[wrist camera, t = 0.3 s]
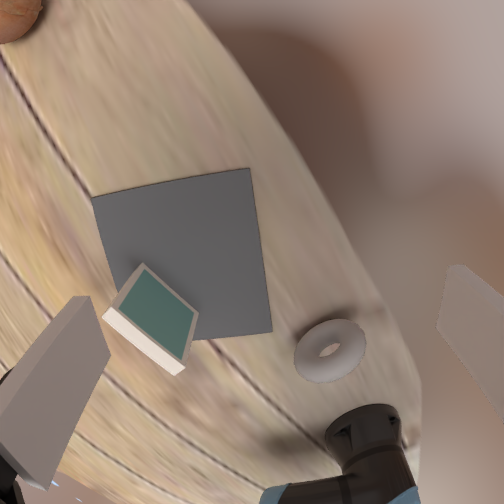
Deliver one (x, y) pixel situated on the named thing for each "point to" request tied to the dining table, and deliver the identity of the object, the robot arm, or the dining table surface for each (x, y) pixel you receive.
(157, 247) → the mat
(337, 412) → the dining table surface
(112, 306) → the board
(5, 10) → the onion
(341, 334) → the donut
